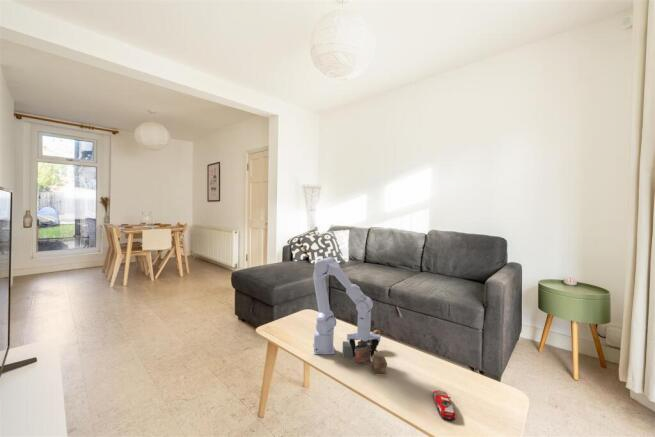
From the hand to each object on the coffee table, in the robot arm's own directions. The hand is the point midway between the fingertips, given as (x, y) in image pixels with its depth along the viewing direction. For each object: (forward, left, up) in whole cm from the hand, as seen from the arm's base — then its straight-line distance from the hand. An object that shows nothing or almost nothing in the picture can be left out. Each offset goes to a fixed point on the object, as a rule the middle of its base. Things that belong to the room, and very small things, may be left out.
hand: (362, 355), depth 127 cm
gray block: (-6, +7, -3) cm, 9 cm away
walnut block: (+6, -6, -3) cm, 9 cm away
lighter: (0, 0, -3) cm, 3 cm away
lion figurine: (+4, +10, -3) cm, 11 cm away
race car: (+24, -28, -3) cm, 37 cm away
